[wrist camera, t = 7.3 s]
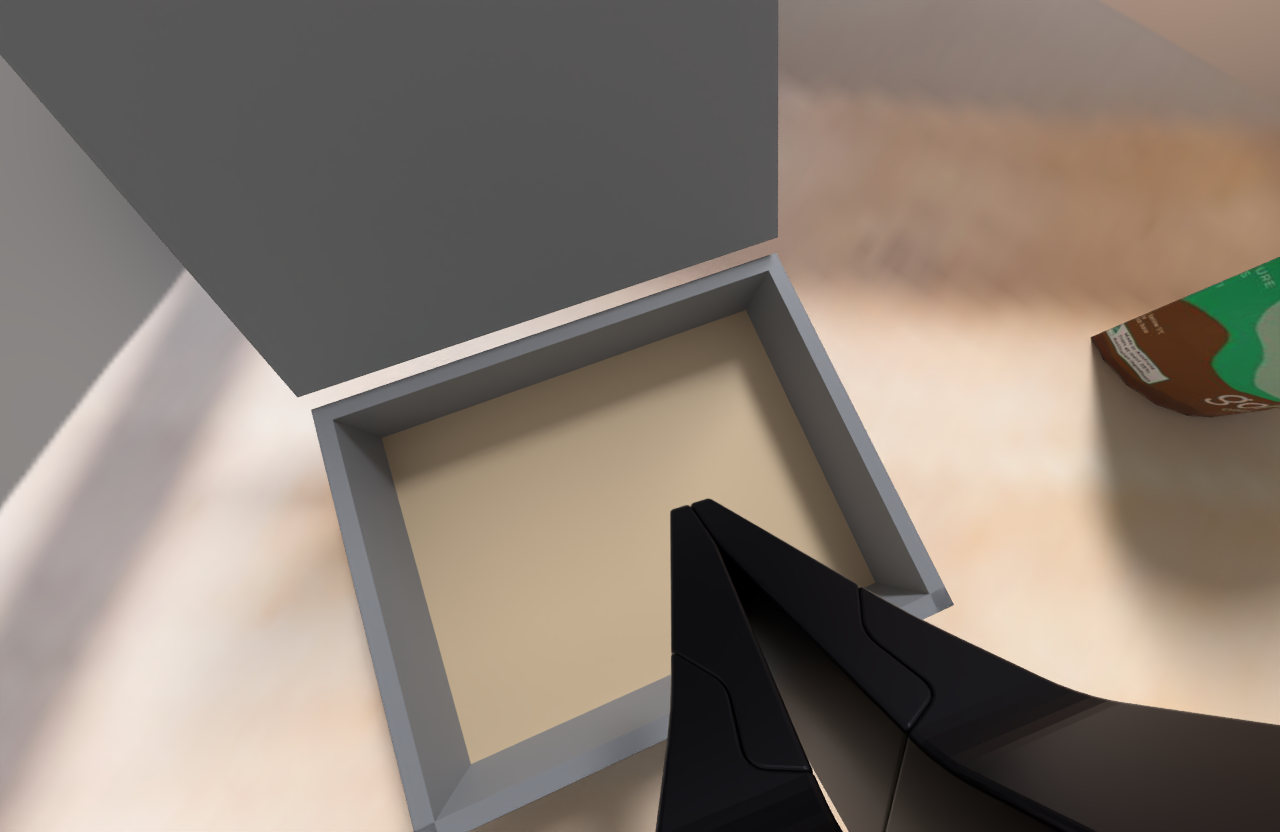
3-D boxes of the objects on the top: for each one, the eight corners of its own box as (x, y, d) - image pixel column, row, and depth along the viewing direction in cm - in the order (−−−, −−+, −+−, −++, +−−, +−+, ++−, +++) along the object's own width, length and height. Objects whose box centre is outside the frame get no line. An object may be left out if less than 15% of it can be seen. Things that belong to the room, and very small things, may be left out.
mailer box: (887, 589, 19) (953, 605, 16) (464, 780, 17) (419, 854, 13) (748, 300, 22) (776, 252, 18) (371, 432, 20) (311, 409, 16)
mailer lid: (778, -495, 9) (762, -469, 9) (-362, -363, 7) (-309, -335, 7) (777, 237, 18) (769, 232, 18) (297, 397, 16) (301, 387, 16)
